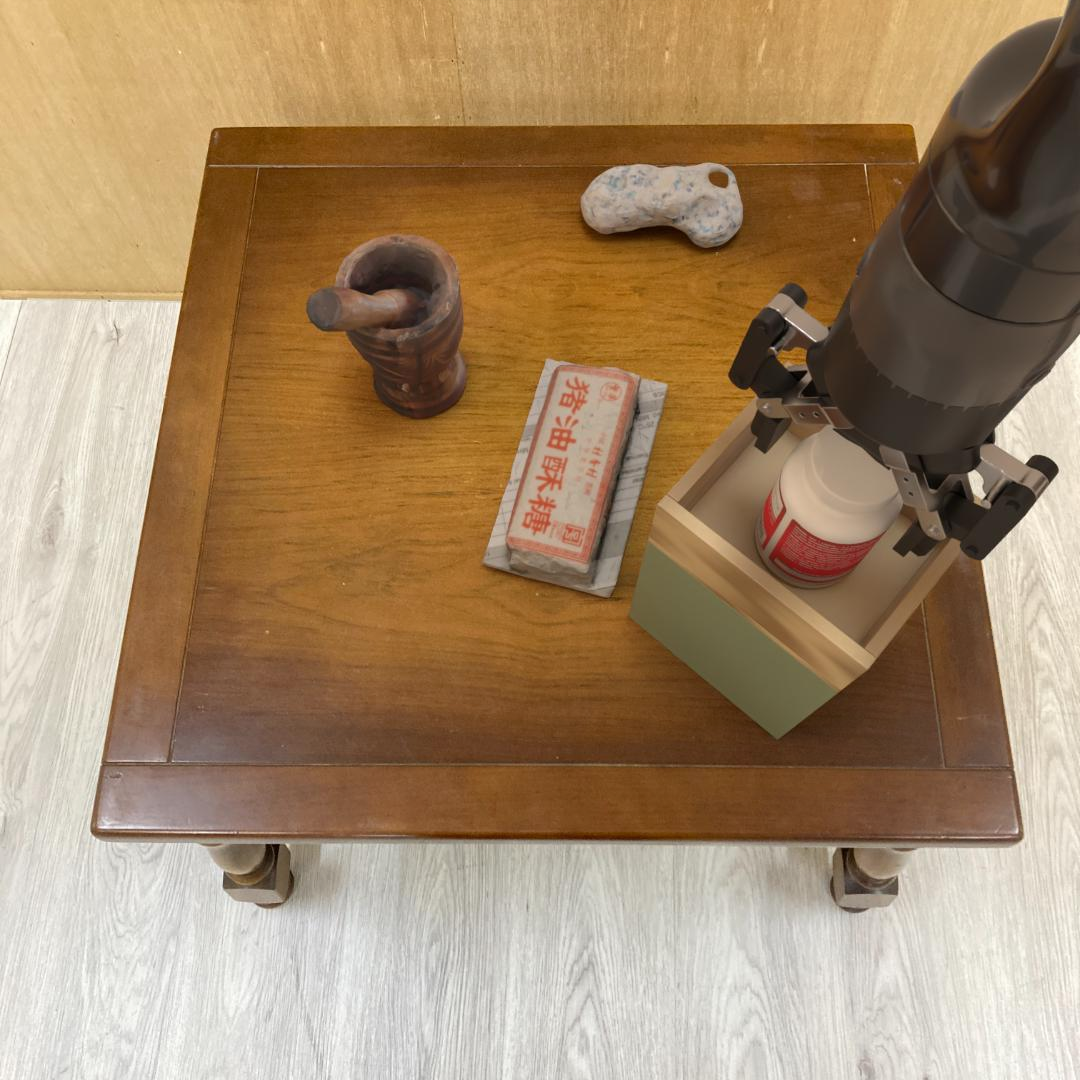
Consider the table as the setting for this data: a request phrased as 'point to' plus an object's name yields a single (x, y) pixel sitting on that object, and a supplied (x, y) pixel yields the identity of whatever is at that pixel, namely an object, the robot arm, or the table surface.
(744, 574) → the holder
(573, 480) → the packaged product
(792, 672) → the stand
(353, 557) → the table surface
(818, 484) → the pill bottle
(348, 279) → the mortar and pestle
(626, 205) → the decorative stone
